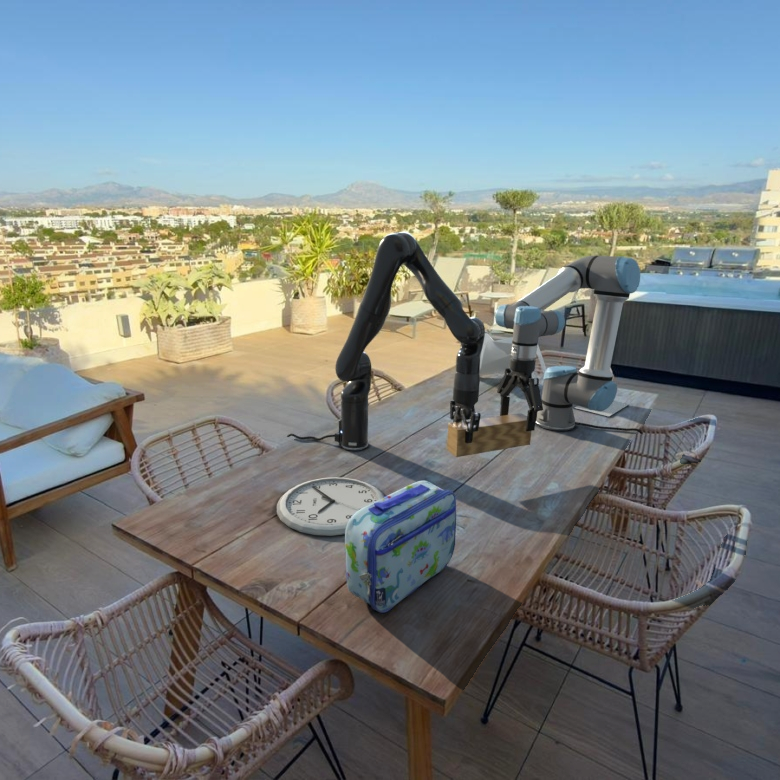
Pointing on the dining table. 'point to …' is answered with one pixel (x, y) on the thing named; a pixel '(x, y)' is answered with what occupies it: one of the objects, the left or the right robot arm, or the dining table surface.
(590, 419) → the dining table surface
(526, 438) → the box
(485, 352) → the white plastic object
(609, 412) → the invitation card
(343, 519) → the wall clock
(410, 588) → the lunch box
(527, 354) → the right robot arm
